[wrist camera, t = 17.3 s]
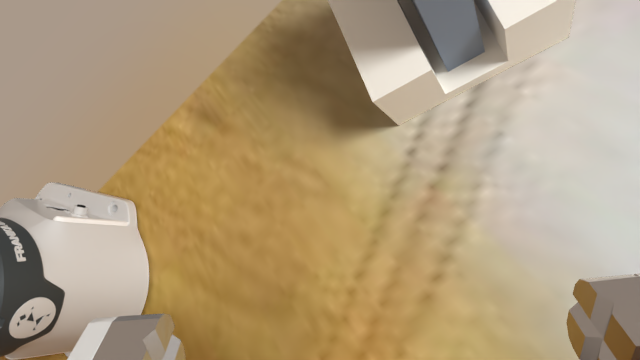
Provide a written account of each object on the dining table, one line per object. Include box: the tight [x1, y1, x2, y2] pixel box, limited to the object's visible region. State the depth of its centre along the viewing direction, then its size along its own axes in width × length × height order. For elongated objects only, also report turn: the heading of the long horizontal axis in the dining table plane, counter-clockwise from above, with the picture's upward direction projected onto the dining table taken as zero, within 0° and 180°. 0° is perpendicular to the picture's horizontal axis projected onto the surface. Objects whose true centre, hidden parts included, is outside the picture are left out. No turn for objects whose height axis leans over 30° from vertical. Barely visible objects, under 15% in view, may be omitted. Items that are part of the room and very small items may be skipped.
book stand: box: [328, 0, 576, 125], centre depth 34 cm, size 14×12×7 cm
